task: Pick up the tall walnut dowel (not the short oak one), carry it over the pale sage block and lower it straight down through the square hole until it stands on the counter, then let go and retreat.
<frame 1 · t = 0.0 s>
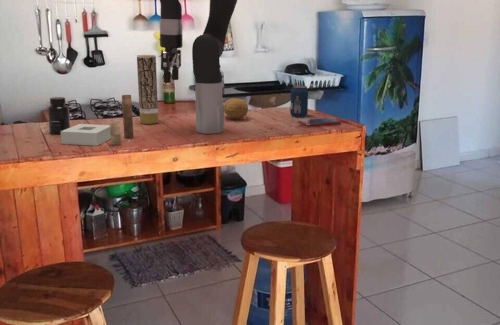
hand: (171, 81, 182), 17 cm above the table, tool pointing down, fingers open, 8 cm apart
supplement bottle: (60, 133, 181), on the table
long pin: (128, 137, 175), on the table
potato: (235, 119, 207), on the table
short pin: (116, 144, 166), on the table
soda can: (298, 116, 212), on the table
hole block: (88, 140, 170), on the table
paper tube: (149, 123, 198), on the table
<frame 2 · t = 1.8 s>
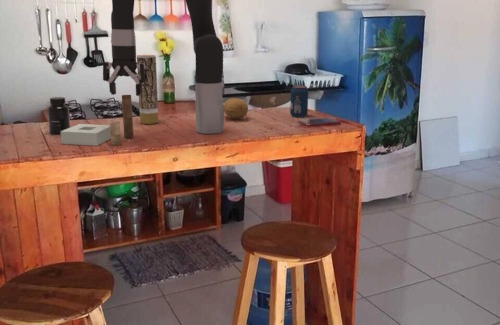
hand: (125, 94, 171), 14 cm above the table, tool pointing down, fingers open, 8 cm apart
nothing on the table moved.
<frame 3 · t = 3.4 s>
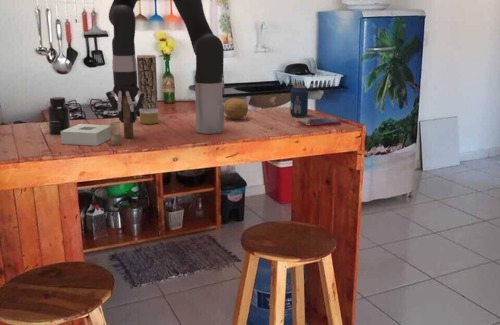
hand: (128, 122, 174), 5 cm above the table, tool pointing down, fingers closed on long pin, 3 cm apart
long pin: (128, 137, 175), on the table, touching gripper
everything else where it was.
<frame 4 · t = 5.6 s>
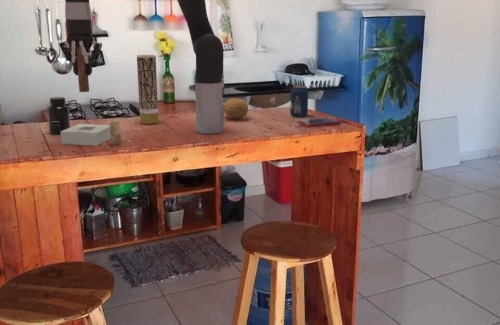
hand: (82, 74, 165), 21 cm above the table, tool pointing down, fingers closed on long pin, 3 cm apart
long pin: (84, 91, 166), point 16 cm above the table, touching gripper
everything else where it was.
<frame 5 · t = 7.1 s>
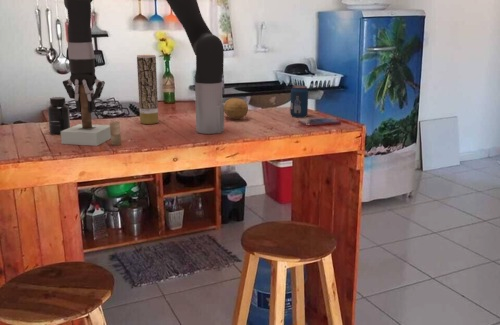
hand: (85, 111, 168), 9 cm above the table, tool pointing down, fingers closed on long pin, 3 cm apart
long pin: (87, 127, 169), point 4 cm above the table, touching gripper
everything else where it was.
when the fingers open (6 cm above the table, at t = 8.0 s): long pin stays where it is, resting in hole block.
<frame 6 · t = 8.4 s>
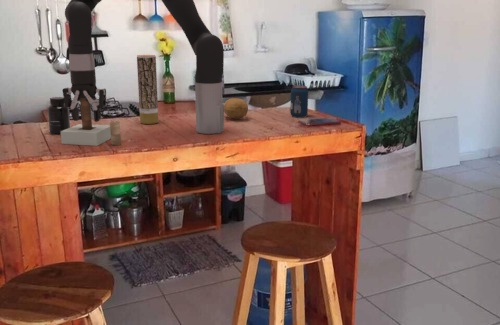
hand: (86, 120, 169), 6 cm above the table, tool pointing down, fingers open, 6 cm apart
long pin: (88, 140, 170), resting in hole block
everything else where it was.
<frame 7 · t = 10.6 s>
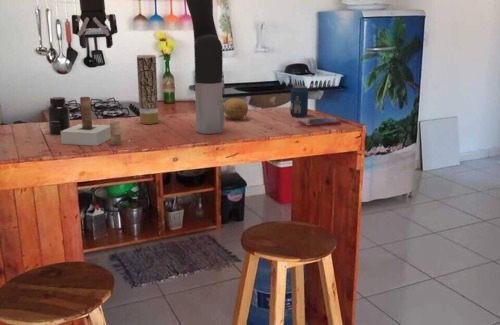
hand: (96, 48, 169), 29 cm above the table, tool pointing down, fingers open, 8 cm apart
nothing on the table moved.
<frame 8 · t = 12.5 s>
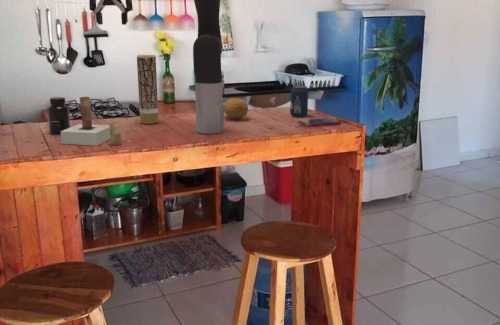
hand: (112, 24, 176), 36 cm above the table, tool pointing down, fingers open, 8 cm apart
nothing on the table moved.
at the end: long pin 0.0 cm off-centre on the hole block, point 0.0 cm above the hole block's base; long pin tilted 0°; short pin moved 0.0 cm from its start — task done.
